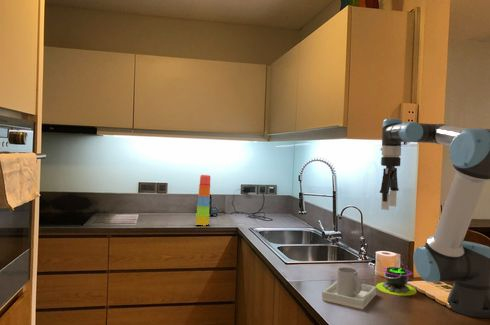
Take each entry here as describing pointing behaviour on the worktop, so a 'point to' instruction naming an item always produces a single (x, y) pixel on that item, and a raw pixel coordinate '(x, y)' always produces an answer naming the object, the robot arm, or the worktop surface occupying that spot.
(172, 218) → the worktop surface
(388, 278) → the toy cauldron
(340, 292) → the cup
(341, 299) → the shallow rectangular tray
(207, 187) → the stacking cups
